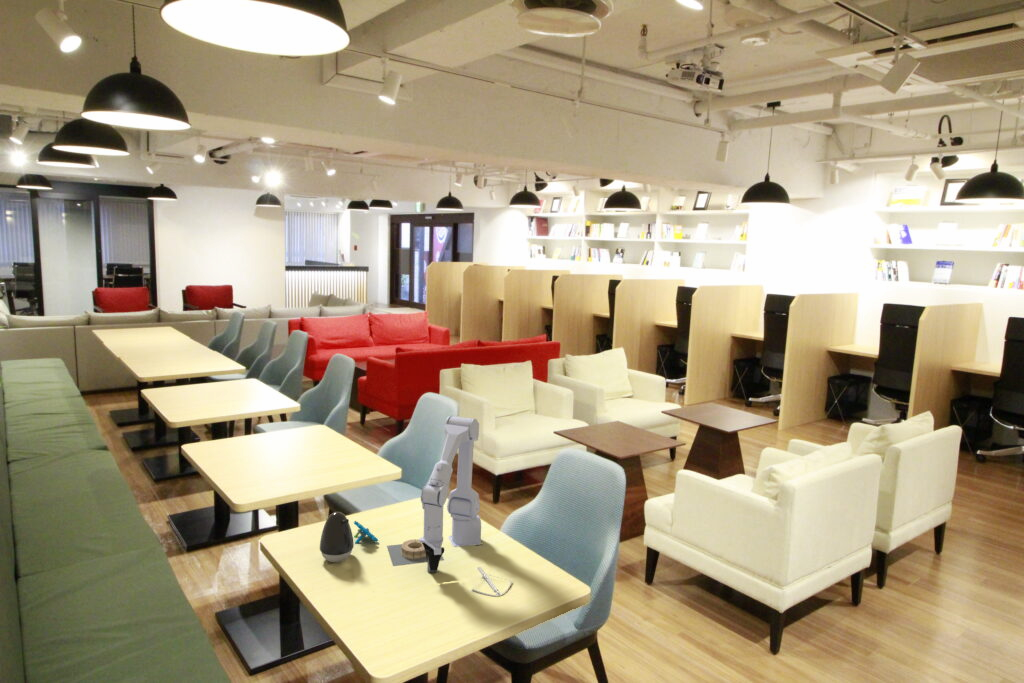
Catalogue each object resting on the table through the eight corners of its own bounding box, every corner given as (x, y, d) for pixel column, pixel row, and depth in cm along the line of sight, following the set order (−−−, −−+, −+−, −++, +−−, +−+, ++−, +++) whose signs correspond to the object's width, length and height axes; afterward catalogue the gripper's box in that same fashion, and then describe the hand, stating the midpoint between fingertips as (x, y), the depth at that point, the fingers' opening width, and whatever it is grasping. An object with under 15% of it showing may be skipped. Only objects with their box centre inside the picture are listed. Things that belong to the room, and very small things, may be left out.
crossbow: (519, 596, 188) (519, 589, 188) (478, 604, 183) (479, 597, 183) (497, 567, 202) (498, 561, 202) (459, 574, 197) (460, 568, 197)
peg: (436, 569, 199) (436, 551, 198) (438, 574, 196) (438, 555, 195) (426, 570, 198) (426, 552, 197) (428, 575, 195) (428, 556, 194)
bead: (425, 545, 214) (425, 538, 213) (430, 557, 206) (430, 549, 205) (399, 548, 211) (399, 541, 211) (403, 560, 203) (403, 552, 203)
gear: (382, 541, 212) (360, 523, 209) (370, 556, 211) (347, 538, 207) (374, 532, 222) (353, 515, 219) (362, 547, 221) (340, 529, 217)
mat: (434, 542, 217) (434, 540, 217) (444, 561, 204) (444, 559, 204) (386, 547, 212) (386, 545, 212) (392, 567, 199) (393, 565, 199)
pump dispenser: (334, 570, 196) (334, 522, 194) (313, 559, 203) (312, 512, 200) (360, 558, 204) (361, 512, 202) (339, 547, 211) (339, 503, 208)
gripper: (415, 515, 200) (415, 557, 202) (424, 535, 187) (423, 579, 189) (438, 513, 203) (437, 554, 205) (448, 533, 189) (447, 576, 191)
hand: (432, 566), depth 197 cm, fingers open, 3 cm apart
